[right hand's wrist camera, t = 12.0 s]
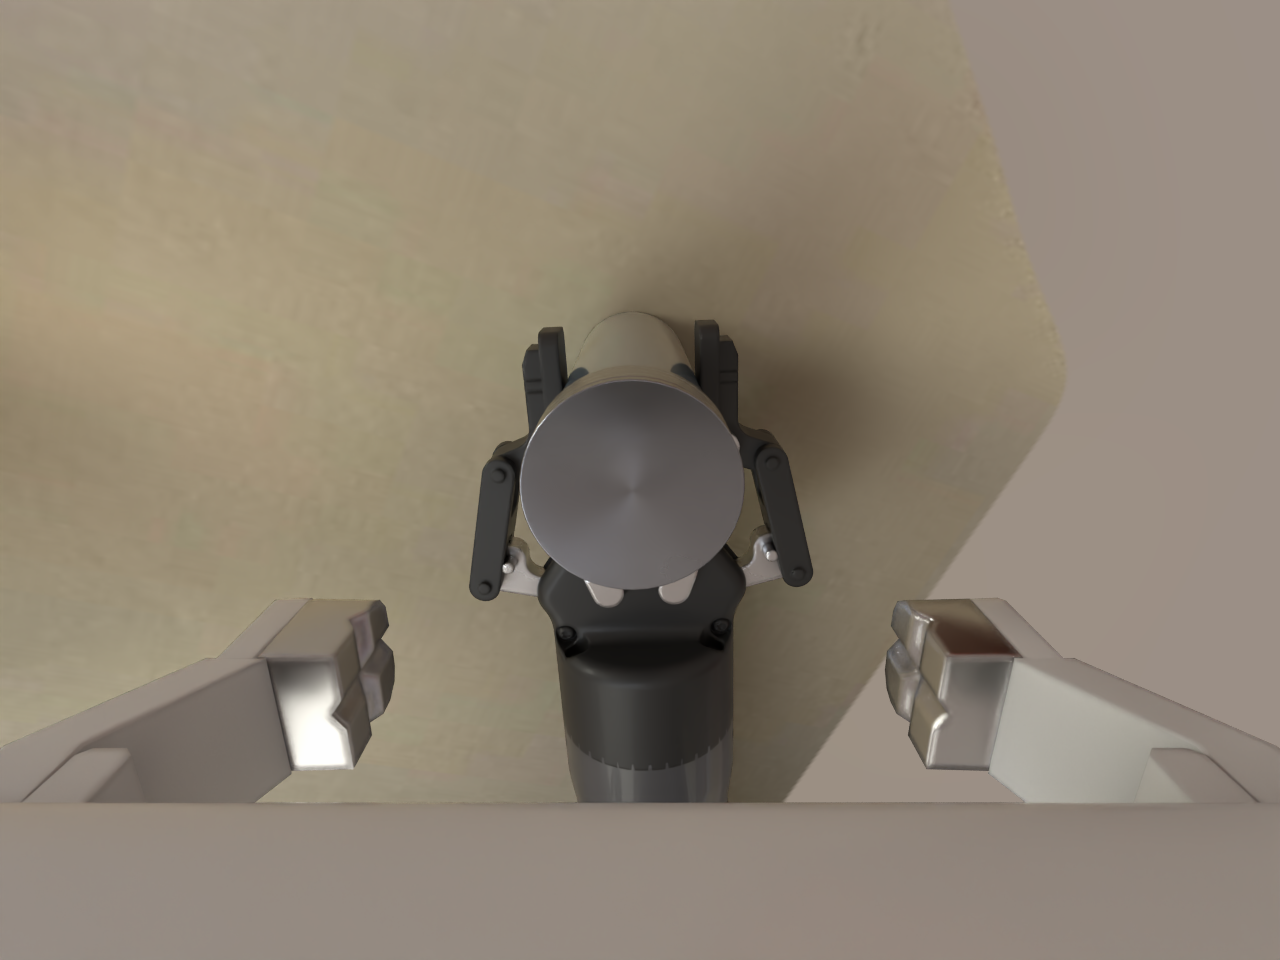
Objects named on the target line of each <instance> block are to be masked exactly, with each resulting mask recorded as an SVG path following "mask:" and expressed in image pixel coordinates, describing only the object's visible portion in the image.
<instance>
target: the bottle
mask: <svg viewBox="0 0 1280 960" xmlns="http://www.w3.org/2000/svg"><path fill="white" fill-rule="evenodd" d="M620 365H645V366H651V367H656V368H660V369H663V370H667V371H670V372H672V373H674V374H677V375H679V376H681V377H683V378H685V379H686V380H688V381H689V382H691V383H692V384H694V385H696V386H697V387H698V388H699V389H700V390H701V388H700V386H699V383H698V381H697V379H696V377H695V374H694V372H693V370H692V367H691V365H690V363H689V361H688V358H687V356H686V354H685V352H684V349H683V347H682V345H681V343H680V341H679V339H678V337H677V335H676V334H675V333H674V331H673V330H672V329H671V328H670V327H669V326H668V325H667V324H666V323H664V322H663V321H661V320H660V319H658V318H656V317H654V316H652V315H649V314H646V313H641V312H623V313H619V314H615V315H613V316H610V317H608V318H606V319H604V320H603V321H602V322H600V323H599V324H598V325H597V326H596V327H594V328H593V330H592V331H591V332H590V333H589V335H588V336H587V338H586V340H585V342H584V344H583V346H582V348H581V351H580V353H579V355H578V358H577V360H576V362H575V364H574V367H573V369H572V371H571V373H570V376H569V378H568V380H567V382H566V385H565V387H564V389H565V388H566V387H567V386H569V385H570V384H572V383H573V382H575V381H576V380H578V379H580V378H582V377H583V376H585V375H587V374H589V373H592V372H595V371H598V370H600V369H604V368H608V367H613V366H620ZM564 389H563V390H564ZM701 391H702V390H701Z"/></svg>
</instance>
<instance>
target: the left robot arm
mask: <svg viewBox="0 0 1280 960" xmlns="http://www.w3.org/2000/svg"><path fill="white" fill-rule="evenodd" d="M694 334H695V377H696V379H697V381H698V383H699V386H700V388H701V390H702V391H703V392H704V393H705V394H706V395H707V396H708V397H709V398H710V400H711V401H712V402H713V403H714V404H715V405H716V407H717V408H718V410H719V411H720V413H721V414H722V416H723V418H724V420H725V422H726V424H727V426H728V428H729V430H730V432H731V434H732V436H733V439H734V441H735V443H736V445H737V447H738V450H739V453H740V456H741V459H742V463H743V467H744V468H748V469H751V471H752V475H753V479H754V483H755V487H756V491H757V495H758V499H759V503H760V508H761V512H762V516H763V520H764V524H765V525H762V526H759V527H757V528H756V529H754V530H753V532H752V533H751V536H750V548H749V550H748V552H747V553H746V554H745V555H743V556H741V557H739V558H738V557H737V556H736V555H735V553H734V552H733V551H732V550H731V549H730V547H729V546H728V545H727V544H726V543H725V544H724V546H723V547H722V548H721V550H720V551H719V552H718V553H717V554H716V555H715V556H714V557H713V558H712V559H711V560H710V561H709V562H708V563H706V564H705V565H704V566H703V567H701V568H700V569H699V570H697V571H695V572H694V573H692V574H690V575H689V576H687V577H685V578H683V579H680V580H678V581H676V582H673V583H670V584H667V585H664V586H660V587H655V588H650V589H640V590H624V589H615V588H608V587H604V586H601V585H597V584H593V583H591V582H588V581H586V580H584V579H581V578H579V577H577V576H576V575H574V574H572V573H570V572H568V571H567V570H566V569H564V568H563V567H562V566H560V565H559V564H557V563H556V562H555V561H554V560H553V559H552V558H551V557H550V558H549V559H548V561H547V562H546V564H545V565H544V567H541V566H538V565H536V564H535V563H534V562H533V561H532V560H531V558H530V554H529V547H528V545H527V543H526V542H525V541H524V540H522V539H520V538H517V537H514V531H515V523H516V516H517V509H518V501H519V494H520V488H519V478H520V470H521V463H522V460H523V456H524V453H525V450H526V447H527V445H528V443H529V441H530V438H531V436H532V434H533V432H534V430H535V428H536V426H537V424H538V422H539V420H540V418H541V417H542V415H543V413H544V412H545V410H546V408H547V407H548V406H549V405H550V403H551V402H552V401H553V400H554V398H555V397H556V396H557V395H558V394H559V393H561V392H562V391H563V389H564V387H565V385H566V382H567V380H568V376H567V364H566V353H565V341H564V332H563V327H546V328H543V329H542V330H541V331H540V332H539V334H538V344H532V345H531V346H530V347H529V348H528V349H527V350H526V353H525V357H524V360H523V364H522V368H523V377H524V386H525V395H526V404H527V413H528V422H529V434H528V435H526V436H525V437H523V438H520V439H518V440H515V441H513V442H512V441H505V442H502V443H500V444H499V445H498V446H497V448H496V449H495V451H494V453H493V456H492V458H491V459H490V460H489V461H488V462H487V463H486V465H485V467H484V468H483V471H482V478H481V487H480V496H479V505H478V513H477V522H476V531H475V540H474V548H473V557H472V566H471V575H470V583H469V589H470V592H471V594H472V595H473V596H474V597H475V598H477V599H479V600H482V601H490V600H493V599H494V598H496V597H497V596H498V594H499V592H500V591H504V592H510V593H517V594H523V595H529V596H536V597H538V600H539V602H540V604H541V606H542V607H543V609H544V610H545V611H546V612H547V614H548V615H549V617H550V619H551V621H552V623H553V627H554V634H555V643H556V652H557V661H558V671H559V680H560V690H561V699H562V709H563V718H564V728H565V737H566V746H567V755H568V764H569V770H570V775H571V779H572V782H573V786H574V790H575V793H576V796H577V800H578V803H728V789H729V783H730V777H731V772H732V765H733V618H734V613H735V610H736V607H737V605H738V604H739V602H740V601H741V599H742V597H743V595H744V593H745V590H746V587H747V586H751V585H755V584H759V583H763V582H767V581H771V580H775V579H779V578H782V577H783V579H784V581H785V582H786V583H787V584H788V585H790V586H793V587H800V586H803V585H805V584H807V583H808V582H809V581H810V580H811V578H812V576H813V568H812V563H811V559H810V555H809V550H808V546H807V541H806V537H805V532H804V528H803V523H802V519H801V515H800V510H799V506H798V501H797V497H796V492H795V488H794V483H793V479H792V475H791V470H790V466H789V461H788V457H787V455H786V453H785V452H784V450H783V449H782V448H781V446H780V445H779V443H778V442H777V440H776V439H775V437H774V436H773V435H772V433H770V432H769V431H767V430H763V429H759V430H755V429H751V428H748V427H745V426H743V425H741V424H740V423H738V353H737V351H736V349H735V346H734V344H733V341H732V340H731V339H730V338H729V337H728V336H727V335H720V336H719V326H718V324H717V323H716V321H715V320H696V321H695V326H694Z"/></svg>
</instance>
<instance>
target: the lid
mask: <svg viewBox="0 0 1280 960" xmlns="http://www.w3.org/2000/svg"><path fill="white" fill-rule="evenodd" d="M519 488H520V499H521V505H522V509H523V512H524V516H525V519H526V521H527V523H528V526H529V528H530V530H531V532H532V534H533V535H534V537H535V538H536V540H537V542H538V543H539V544H540V546H541V547H542V548H543V549H544V551H545V552H546V553H547V554H548V555H549V556H550V557H551V558H552V559H553V560H554V561H555V562H556V563H557V564H559V565H560V566H562V567H563V568H564V569H566V570H567V571H568V572H570V573H572V574H574V575H576V576H577V577H579V578H581V579H584V580H586V581H588V582H591V583H593V584H597V585H601V586H604V587H608V588H615V589H624V590H640V589H650V588H655V587H660V586H664V585H667V584H670V583H673V582H676V581H678V580H680V579H683V578H685V577H687V576H689V575H690V574H692V573H694V572H695V571H697V570H699V569H700V568H701V567H703V566H704V565H705V564H706V563H708V562H709V561H710V560H711V559H712V558H713V557H714V556H715V555H716V554H717V553H718V552H719V551H720V550H721V548H722V547H723V546H724V544H725V543H726V542H727V540H728V539H729V537H730V535H731V534H732V532H733V530H734V528H735V526H736V524H737V521H738V519H739V516H740V513H741V509H742V505H743V500H744V491H745V478H744V469H743V463H742V459H741V456H740V453H739V450H738V447H737V445H736V443H735V441H734V439H733V436H732V434H731V432H730V430H729V428H728V426H727V424H726V422H725V420H724V418H723V416H722V414H721V413H720V411H719V410H718V408H717V407H716V405H715V404H714V403H713V402H712V401H711V400H710V398H709V397H708V396H707V395H706V394H705V393H704V392H703V391H701V390H700V389H699V388H698V387H697V386H696V385H694V384H692V383H691V382H689V381H688V380H686V379H685V378H683V377H681V376H679V375H677V374H674V373H672V372H670V371H667V370H663V369H660V368H656V367H651V366H645V365H620V366H613V367H608V368H604V369H600V370H598V371H595V372H592V373H589V374H587V375H585V376H583V377H582V378H580V379H578V380H576V381H575V382H573V383H572V384H570V385H569V386H567V387H566V388H565V389H564V390H563V391H562V392H561V393H559V394H558V395H557V396H556V397H555V398H554V400H553V401H552V402H551V403H550V405H549V406H548V407H547V408H546V410H545V412H544V413H543V415H542V417H541V418H540V420H539V422H538V424H537V426H536V428H535V430H534V432H533V434H532V436H531V438H530V441H529V443H528V445H527V447H526V450H525V453H524V456H523V460H522V463H521V470H520V478H519Z"/></svg>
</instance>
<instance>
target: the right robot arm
mask: <svg viewBox="0 0 1280 960" xmlns="http://www.w3.org/2000/svg"><path fill="white" fill-rule="evenodd" d="M388 627H389V623H388V618H387V612H386V607H385V605H384V604H383V603H382V602H381V601H380V600H359V599H312V598H292V599H278V600H275V601H274V602H273V603H272V604H271V605H270V606H269V607H268V608H267V609H266V610H265V611H264V612H263V613H262V614H261V615H260V616H259V617H258V618H257V619H256V620H255V621H254V622H253V623H252V624H251V625H250V626H249V627H248V628H246V629H245V630H244V631H243V632H242V633H241V634H240V635H239V636H238V637H237V638H236V639H235V640H234V641H233V642H232V643H231V644H230V645H229V646H228V647H227V648H226V649H225V650H224V651H223V652H222V653H221V654H220V655H219V656H218V657H217V658H205V659H203V660H200V661H198V662H196V663H193V664H191V665H189V666H187V667H184V668H182V669H180V670H177V671H175V672H173V673H170V674H168V675H166V676H163V677H161V678H159V679H157V680H154V681H152V682H150V683H147V684H145V685H143V686H140V687H138V688H136V689H133V690H131V691H129V692H126V693H124V694H122V695H120V696H117V697H115V698H113V699H110V700H108V701H106V702H103V703H101V704H99V705H96V706H94V707H92V708H90V709H87V710H85V711H83V712H80V713H78V714H76V715H73V716H71V717H69V718H66V719H64V720H62V721H59V722H57V723H55V724H53V725H50V726H48V727H46V728H43V729H41V730H39V731H36V732H34V733H32V734H29V735H27V736H25V737H23V738H20V739H18V740H16V741H13V742H11V743H9V744H6V745H4V746H3V747H2V748H1V749H0V960H1280V748H1278V747H1277V746H1275V745H1273V744H1271V743H1268V742H1266V741H1264V740H1261V739H1259V738H1257V737H1255V736H1252V735H1250V734H1248V733H1245V732H1243V731H1241V730H1239V729H1236V728H1234V727H1232V726H1229V725H1227V724H1225V723H1222V722H1220V721H1218V720H1215V719H1213V718H1211V717H1209V716H1206V715H1204V714H1202V713H1199V712H1197V711H1195V710H1192V709H1190V708H1188V707H1186V706H1183V705H1181V704H1179V703H1176V702H1174V701H1172V700H1169V699H1167V698H1165V697H1162V696H1160V695H1158V694H1156V693H1153V692H1151V691H1149V690H1146V689H1144V688H1142V687H1139V686H1137V685H1135V684H1132V683H1130V682H1128V681H1125V680H1123V679H1121V678H1119V677H1116V676H1114V675H1112V674H1110V673H1107V672H1105V671H1103V670H1100V669H1098V668H1096V667H1093V666H1091V665H1089V664H1086V663H1084V662H1082V661H1080V660H1077V659H1075V658H1063V657H1062V656H1061V655H1060V654H1059V653H1058V652H1057V651H1056V650H1055V649H1054V648H1053V647H1052V646H1051V645H1050V644H1049V643H1048V642H1047V641H1046V640H1045V639H1044V638H1043V637H1042V636H1041V635H1040V634H1039V633H1038V632H1037V631H1036V630H1035V629H1034V628H1033V627H1032V626H1031V625H1030V624H1029V623H1028V622H1027V621H1026V620H1025V619H1024V618H1023V617H1022V616H1021V615H1019V613H1018V612H1017V611H1016V610H1015V609H1014V608H1013V607H1012V606H1011V605H1010V604H1009V603H1008V602H1007V601H1005V600H1002V599H999V598H982V599H941V600H904V601H897V604H896V606H895V608H894V611H893V616H892V623H891V627H892V628H893V630H894V631H895V633H896V635H897V636H898V638H899V639H898V640H897V641H896V642H895V643H894V644H893V646H892V647H891V648H890V649H889V650H888V651H887V657H886V666H885V675H886V686H887V691H888V694H889V698H890V701H891V703H892V705H893V707H894V709H895V711H896V713H897V714H898V715H900V716H901V717H903V718H904V719H906V720H907V721H909V722H910V726H909V732H908V736H909V738H910V740H911V741H912V743H913V745H914V747H915V749H916V750H917V752H918V754H919V756H920V758H921V760H922V762H923V763H924V765H925V767H926V769H943V770H979V771H989V772H988V774H990V775H991V776H992V777H993V778H995V779H996V780H997V781H999V782H1000V783H1001V784H1002V785H1004V786H1005V787H1006V788H1008V789H1009V790H1010V791H1011V792H1013V793H1014V794H1015V795H1016V796H1018V797H1019V798H1020V799H1022V800H1023V801H1024V802H1025V803H255V802H256V801H257V800H259V799H260V798H261V797H262V796H264V795H265V794H266V793H268V792H269V791H270V790H271V789H273V788H274V787H275V786H277V785H278V784H279V783H280V782H282V781H283V780H284V779H286V778H287V777H288V776H289V775H291V771H301V770H336V769H354V767H355V765H356V764H357V762H358V760H359V758H360V756H361V754H362V752H363V751H364V749H365V747H366V745H367V743H368V741H369V740H370V738H371V736H372V732H371V726H370V722H371V721H373V720H374V719H376V718H377V717H379V716H381V715H382V714H383V713H384V711H385V709H386V707H387V705H388V703H389V701H390V699H391V694H392V690H393V685H394V678H395V664H394V656H393V651H392V650H391V649H390V648H389V647H388V646H387V644H386V643H385V642H384V641H383V640H382V639H381V638H382V636H383V635H384V633H385V631H386V630H387V628H388Z"/></svg>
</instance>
